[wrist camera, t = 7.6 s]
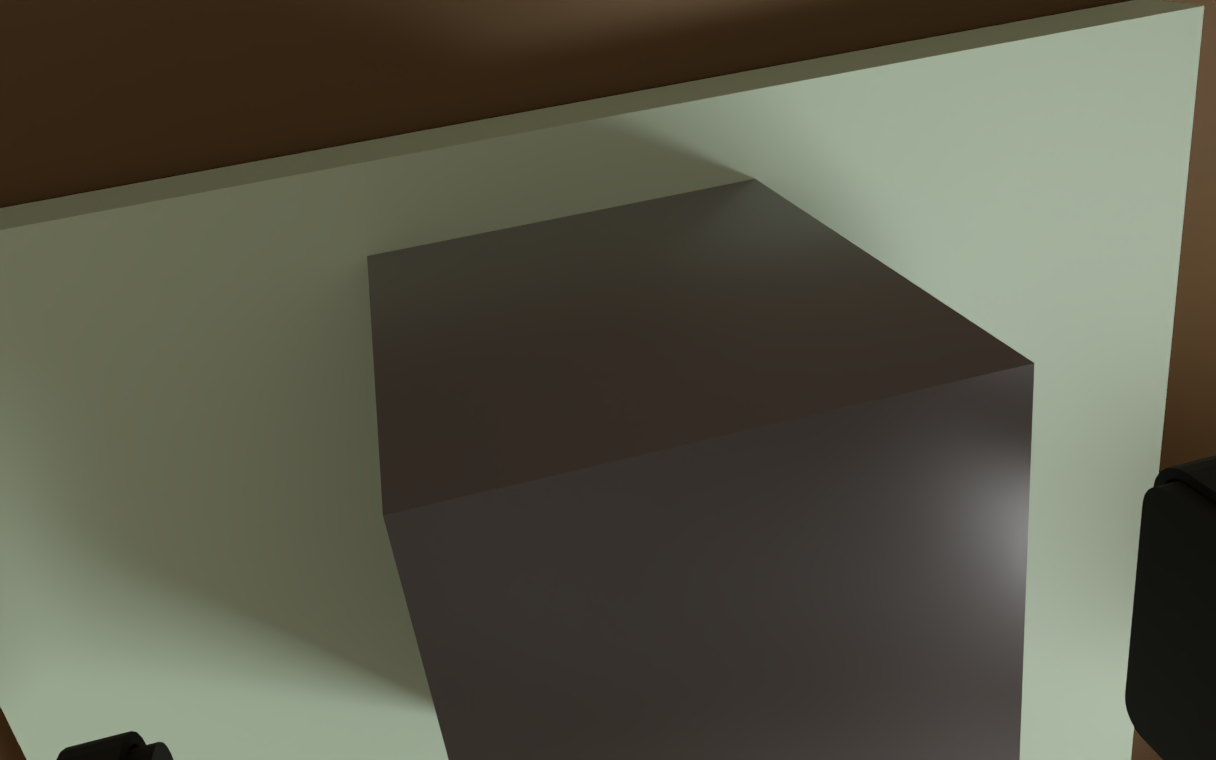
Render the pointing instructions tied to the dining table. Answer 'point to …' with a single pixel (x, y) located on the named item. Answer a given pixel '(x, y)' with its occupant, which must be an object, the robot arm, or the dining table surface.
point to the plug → (701, 491)
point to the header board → (513, 196)
